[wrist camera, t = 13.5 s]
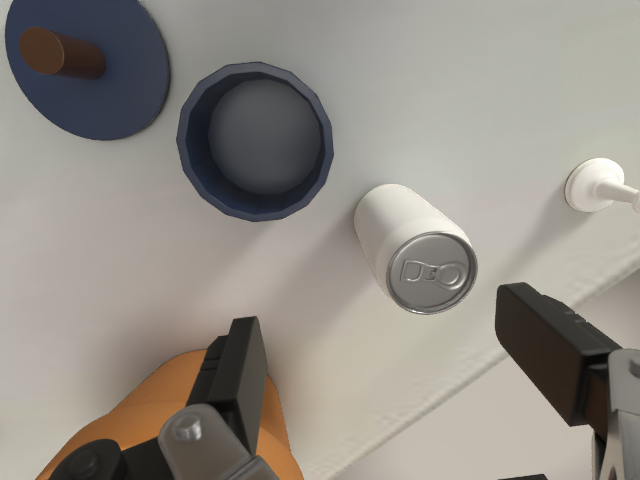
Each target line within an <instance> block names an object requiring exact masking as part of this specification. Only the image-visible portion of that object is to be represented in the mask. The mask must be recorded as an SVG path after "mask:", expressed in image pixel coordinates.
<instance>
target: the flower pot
mask: <svg viewBox="0 0 640 480" xmlns="http://www.w3.org/2000/svg"><path fill="white" fill-rule="evenodd" d="M206 352H207V350H198V351H192V352H188V353H184V354H181V355H179V356H176V357H174V358H172V359H170V360H169V361H167V362H166V363H164V364H163V365H162V366H160V367H159V368H158V369H157V370H156V371H155V372H153V373H152V374H151V375H150V376H149V377H148V378H147V379H146V380H145V381H144V382H142V383H141V384H140V385H139V386H138V387H137V388H136V389H135V390H134V391H133V392H132V393H131V394H129V395H128V396H127V397H126V398H125V399H124V400H123V401H122V402H121V403H120V404H119V405H118V406H116V407H115V408H114V409H113V410H112V411H111V412H110V413H109V414H107V415H105V416H103V417H100V418H98V419H97V420H95V421H93V422H91V423H89V424H88V425H87V426H85V427H84V428H82V429H81V430H80V431H79V432H77V433H76V434H75V435H74V436H73V437H72V438H71V439H70V440H69V441H68V442H67V443H66V444H65V446H64V447H63V448H62V449H61V450H60V451H59V452H58V454H57V455H56V456H55V457H54V458H53V459H52V460H51V461H50V463H49V464H48V465H47V466H46V467H45V468H44V470H43V471H42V472H41V473H40V474H39V475H38V477H37V478H36V479H35V480H48V479H49V477H50V475H51V474H52V472H53V471H54V469H55V468H56V467H57V466H58V464H59V463H60V462H61V461H62V460H63V459H64V458H65V457H66V456H68V455H69V454H70V453H71V452H73V451H74V450H76V449H77V448H79V447H81V446H82V445H84V444H87V443H89V442H91V441H94V440H98V439H112V440H115V441H116V442H117V443H118V444H119V446H120V449H121V451H122V450H125V449H127V448H130V447H132V446H135V445H138V444H140V443H143V442H145V441H148V440H150V439H152V438H155V437H157V436H158V435H159V432H160V429H161V428H162V426H163V424H164V423H165V422H166V421H167V420H168V419H169V418H170V417H171V416H172V415H173V414H174V413H176V412H177V411H179V410H181V409H183V408H185V405H186V403H187V400H188V398H189V395H190V393H191V390H192V388H193V385H194V382H195V380H196V377H197V375H198V372H199V371H200V367H201V365H202V362H203V361H204V357H205V354H206ZM257 455H259V456H261V457H262V458H263V459H264V460H265V461H266V462H267V464H268V465H269V466H270V467H271V469H272V470H273V471H274V472H275V474H276V475H277V476H278V478H279V479H280V480H304V478H303V475H302V472H301V470H300V468H299V465H298V464H297V462H296V460H295V459H294V457H293V456H292V454H291V450H290V445H289V441H288V436H287V431H286V426H285V422H284V417H283V413H282V409H281V405H280V400H279V396H278V393H277V390H276V388H275V386H274V384H273V382H272V380H271V379H270V378H269V376H268V375H266V383H265V390H264V398H263V405H262V413H261V420H260V428H259V435H258V443H257V450H256V456H257Z"/></svg>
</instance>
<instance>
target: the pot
mask: <svg viewBox="0 0 640 480" xmlns="http://www.w3.org/2000/svg"><path fill="white" fill-rule="evenodd" d="M176 140H177V141H176V142H177V146H178V150H179V154H180V159H181V163H182V167H183V171H184V173H185V174H186V176H187V177H188V179H189V180H190V182H191V183H192V185H193V186H194V187H195V189H196V190H197V192H198V193H199V195H200V196H201V197H202V198H203V199H204V200H206V201H207V202H209V203H210V204H211V205H213V206H214V207H216V208H217V209H218V210H220V211H221V212H223V213H224V214H226V215H229V216H233V217H236V218H240V219H244V220H247V221H251V222H260V221H270V220H279V219H283V218H285V217H287V216H289V215H291V214H293V213H294V212H296V211H298V210H300V209H302V208H304V207H306V205H308V204H309V203H310V201H311V200H312V199H313V198H314V197H315V195H316V194H317V193H318V192H319V191H320V189H321V188H322V187H323V186H324V184H325V182H326V179H327V176H328V173H329V169H330V166H331V163H332V160H333V157H334V151H333V139H332V127H331V122H330V120H329V118H328V116H327V114H326V112H325V110H324V108H323V106H322V104H321V102H320V100H319V98H318V96H317V95H316V93H314V92H313V91H312V90H311V89H310V88H309V87H308V86H306V85H305V84H304V83H303V82H302V81H301V80H300V79H299V78H297V77H296V76H295V75H294V74H293V73H291V72H290V71H287V70H284V69H281V68H278V67H275V66H272V65H269V64H266V63H263V62H249V63H240V64H230V65H226V66H224V67H222V68H221V69H219V70H217V71H216V72H214V73H212V74H211V75H209V76H208V77H206V78H204V79H203V80H201V81H200V82H198V84H197V85H196V87H195V88H194V90H193V92H192V93H191V95H190V96H189V98H188V99H187V101H186V102H185V104H184V105H183V107H182V109H181V113H180V120H179V126H178V132H177V138H176Z"/></svg>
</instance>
